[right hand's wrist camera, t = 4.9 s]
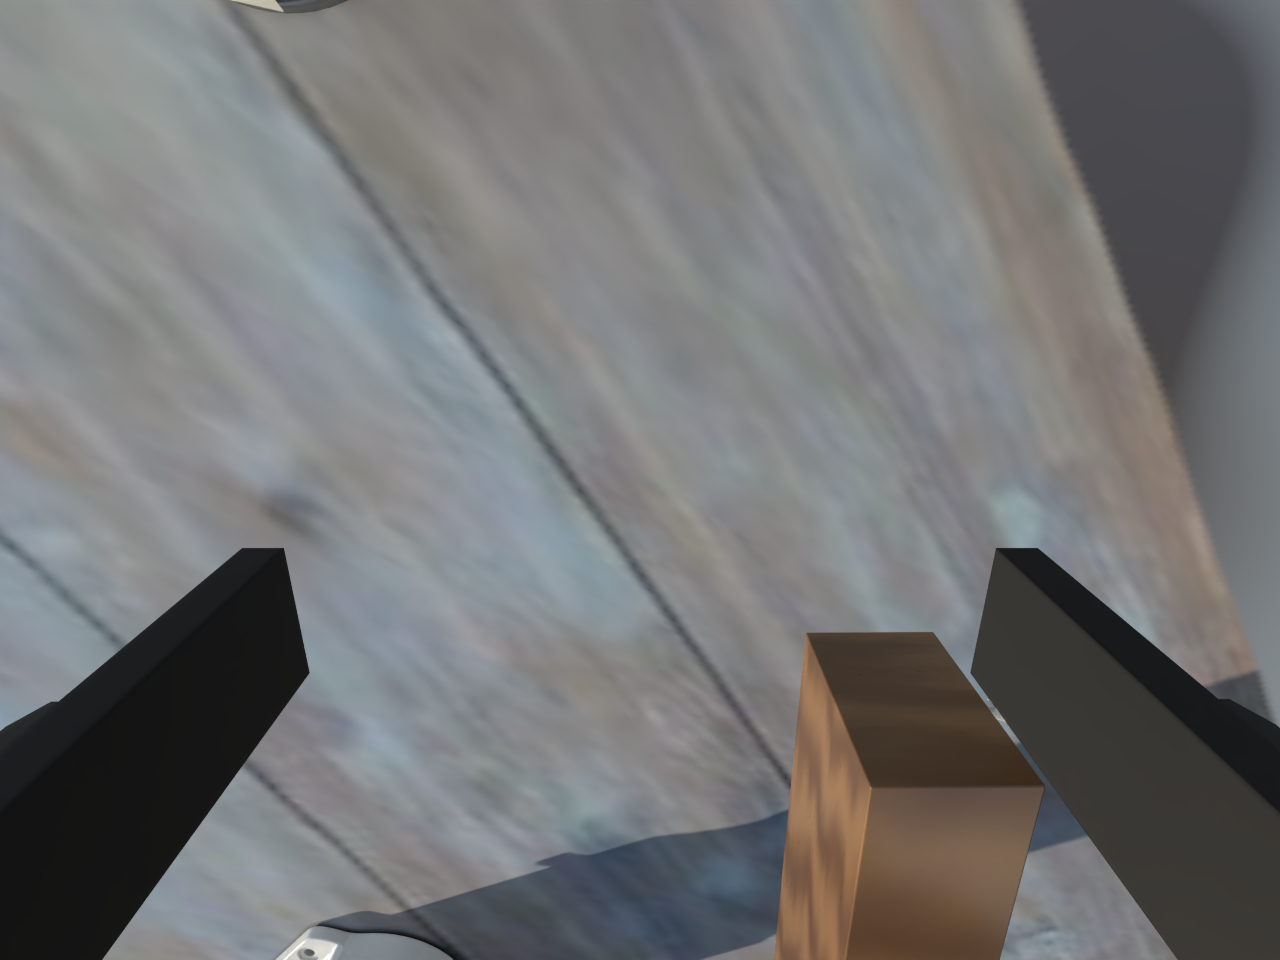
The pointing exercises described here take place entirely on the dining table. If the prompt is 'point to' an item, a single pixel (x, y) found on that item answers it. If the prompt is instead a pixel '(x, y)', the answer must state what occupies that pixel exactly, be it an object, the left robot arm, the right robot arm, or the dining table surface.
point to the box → (900, 807)
